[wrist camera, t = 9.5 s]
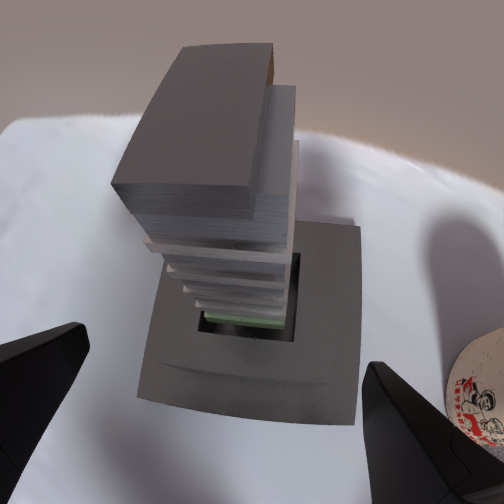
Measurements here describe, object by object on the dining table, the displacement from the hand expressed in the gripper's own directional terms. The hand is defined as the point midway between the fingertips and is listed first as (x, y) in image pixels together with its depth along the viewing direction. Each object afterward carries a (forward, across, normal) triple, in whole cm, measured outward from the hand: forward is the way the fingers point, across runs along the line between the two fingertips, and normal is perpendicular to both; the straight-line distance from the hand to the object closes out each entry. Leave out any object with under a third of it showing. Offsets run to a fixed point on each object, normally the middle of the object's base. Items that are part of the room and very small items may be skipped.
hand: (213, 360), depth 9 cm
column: (+8, 0, +1) cm, 8 cm away
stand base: (+12, 0, +5) cm, 13 cm away
